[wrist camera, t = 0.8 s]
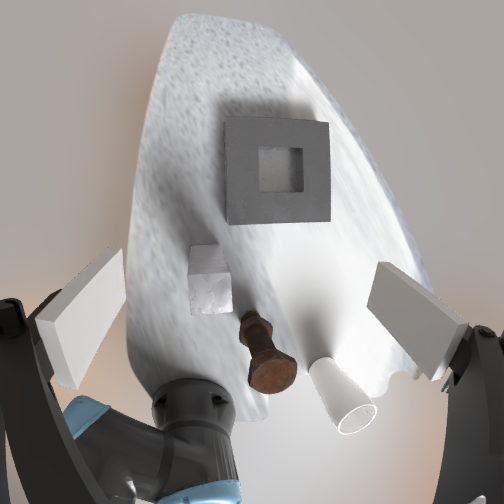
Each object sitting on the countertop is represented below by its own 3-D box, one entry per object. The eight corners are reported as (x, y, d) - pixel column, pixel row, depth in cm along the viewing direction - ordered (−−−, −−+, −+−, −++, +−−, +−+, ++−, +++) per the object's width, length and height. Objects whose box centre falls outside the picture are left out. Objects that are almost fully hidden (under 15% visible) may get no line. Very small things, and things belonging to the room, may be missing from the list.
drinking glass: (337, 375, 49) (374, 424, 34) (304, 385, 48) (336, 440, 33) (337, 348, 47) (380, 397, 33) (303, 358, 46) (338, 413, 32)
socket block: (320, 219, 41) (330, 221, 38) (226, 222, 39) (228, 225, 35) (318, 127, 38) (328, 122, 35) (224, 123, 36) (226, 116, 32)
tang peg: (221, 271, 40) (232, 311, 27) (193, 273, 39) (191, 314, 26) (219, 243, 39) (230, 272, 26) (191, 245, 38) (187, 275, 25)
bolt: (274, 315, 43) (307, 370, 29) (255, 339, 43) (279, 400, 29) (244, 297, 42) (268, 350, 27) (225, 322, 42) (239, 383, 27)
